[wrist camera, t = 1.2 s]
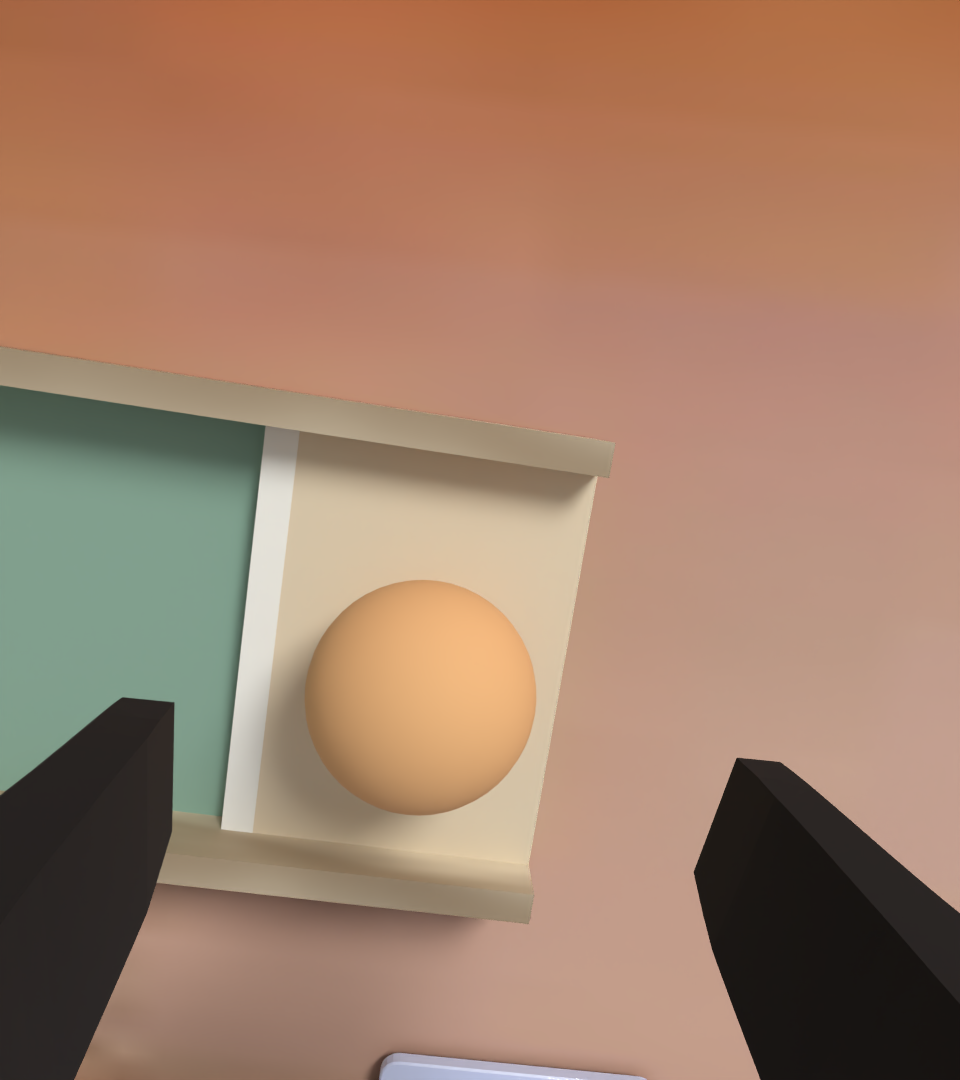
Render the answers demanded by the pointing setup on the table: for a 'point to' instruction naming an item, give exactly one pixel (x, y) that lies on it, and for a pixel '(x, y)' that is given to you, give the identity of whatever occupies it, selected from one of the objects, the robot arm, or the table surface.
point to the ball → (420, 697)
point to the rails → (295, 862)
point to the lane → (258, 598)
